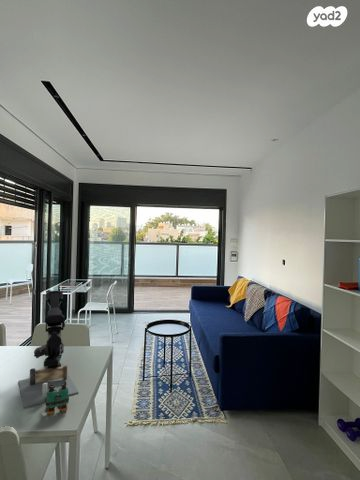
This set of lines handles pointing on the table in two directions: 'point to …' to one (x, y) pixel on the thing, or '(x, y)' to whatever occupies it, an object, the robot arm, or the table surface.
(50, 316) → the robot arm
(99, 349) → the table surface
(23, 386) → the gate base
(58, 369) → the wooden bar with ends
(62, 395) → the binoculars
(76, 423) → the table surface
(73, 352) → the table surface
